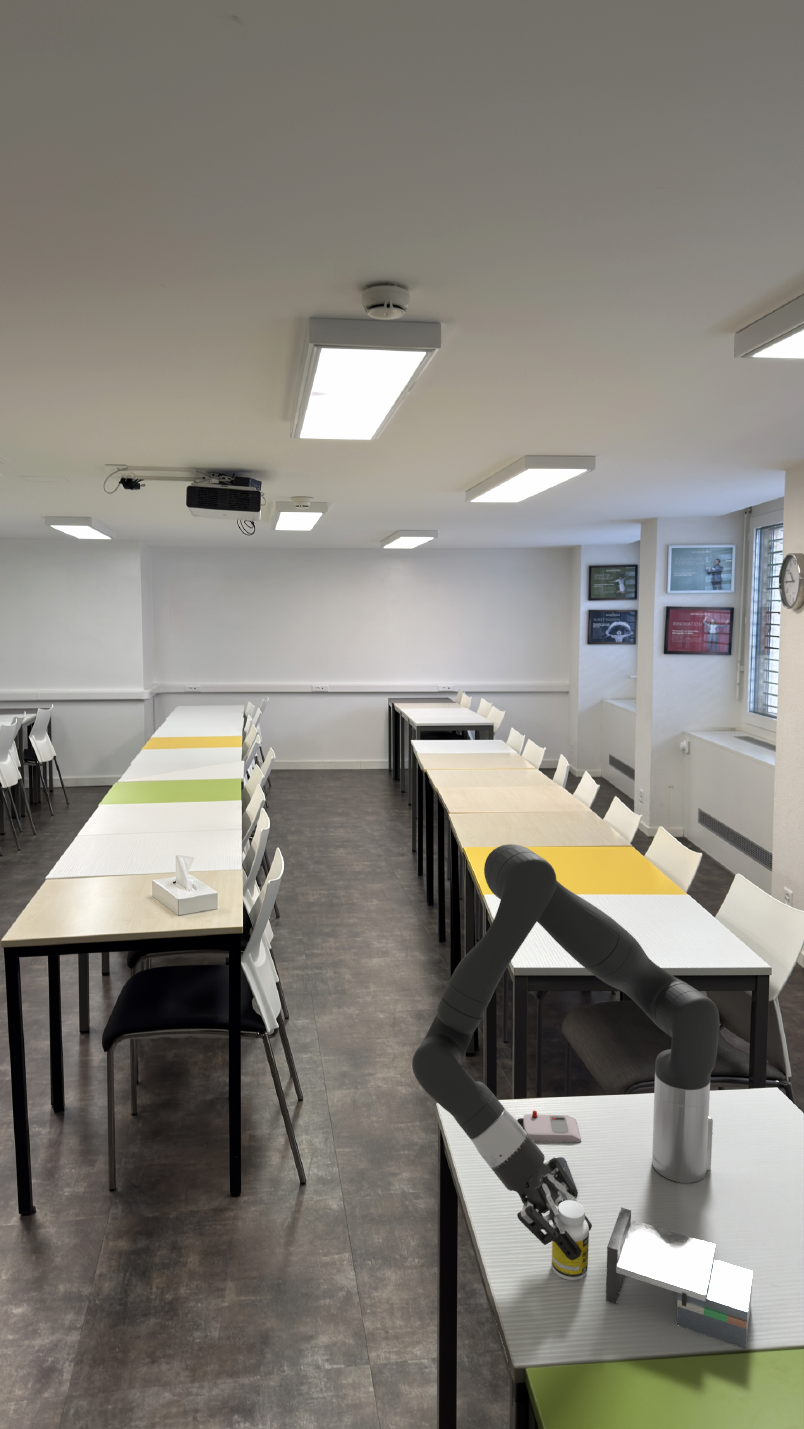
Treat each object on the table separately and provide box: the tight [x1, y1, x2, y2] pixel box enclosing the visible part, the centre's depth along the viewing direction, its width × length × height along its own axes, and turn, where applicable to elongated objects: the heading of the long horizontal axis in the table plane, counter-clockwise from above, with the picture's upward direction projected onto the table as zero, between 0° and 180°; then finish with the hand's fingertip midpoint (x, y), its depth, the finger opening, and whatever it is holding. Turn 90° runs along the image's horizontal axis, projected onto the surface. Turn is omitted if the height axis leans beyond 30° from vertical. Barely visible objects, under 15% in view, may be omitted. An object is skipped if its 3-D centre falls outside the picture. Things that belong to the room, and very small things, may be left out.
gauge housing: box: [676, 1258, 754, 1349], centre depth 125 cm, size 9×8×6 cm
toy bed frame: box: [605, 1207, 716, 1306], centre depth 128 cm, size 14×10×8 cm
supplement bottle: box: [551, 1200, 590, 1281], centre depth 134 cm, size 5×5×10 cm
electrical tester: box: [516, 1110, 582, 1143], centre depth 168 cm, size 7×16×3 cm, turn 87°
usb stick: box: [555, 1156, 579, 1197], centre depth 155 cm, size 10×3×2 cm, turn 3°
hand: (582, 1242), depth 133 cm, fingers closed on supplement bottle, 5 cm apart
